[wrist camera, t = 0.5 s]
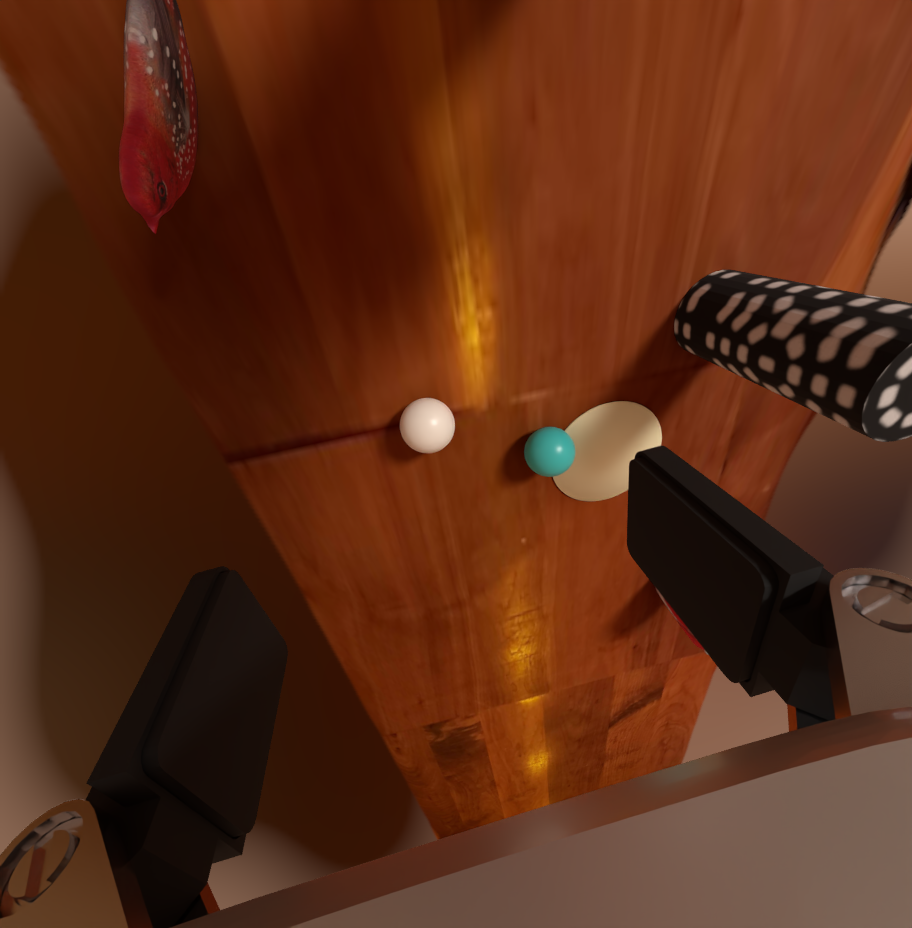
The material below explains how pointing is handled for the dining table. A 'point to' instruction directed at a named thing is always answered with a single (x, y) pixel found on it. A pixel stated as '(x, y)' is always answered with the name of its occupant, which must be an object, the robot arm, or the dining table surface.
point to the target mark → (607, 449)
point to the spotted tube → (807, 346)
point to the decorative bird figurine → (157, 109)
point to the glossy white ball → (427, 425)
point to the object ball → (549, 451)
